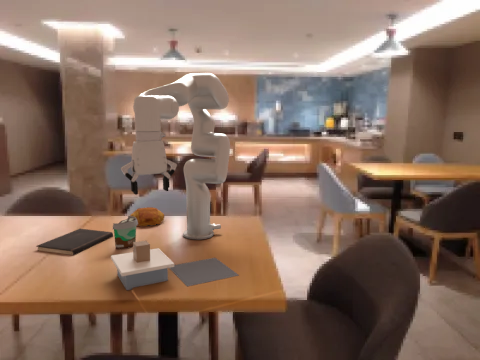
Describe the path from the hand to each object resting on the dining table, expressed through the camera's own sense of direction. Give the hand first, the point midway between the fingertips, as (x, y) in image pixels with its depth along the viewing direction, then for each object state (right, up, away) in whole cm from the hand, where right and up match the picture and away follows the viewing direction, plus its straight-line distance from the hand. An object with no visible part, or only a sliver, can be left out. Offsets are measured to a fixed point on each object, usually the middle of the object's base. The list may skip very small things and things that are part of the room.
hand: (150, 192), depth 120 cm
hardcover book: (-35, -21, +28) cm, 49 cm away
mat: (+16, -25, +1) cm, 30 cm away
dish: (-2, -26, -4) cm, 26 cm away
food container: (-14, -21, +25) cm, 36 cm away
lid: (-1, -21, -5) cm, 22 cm away
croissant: (-15, -16, +57) cm, 61 cm away
